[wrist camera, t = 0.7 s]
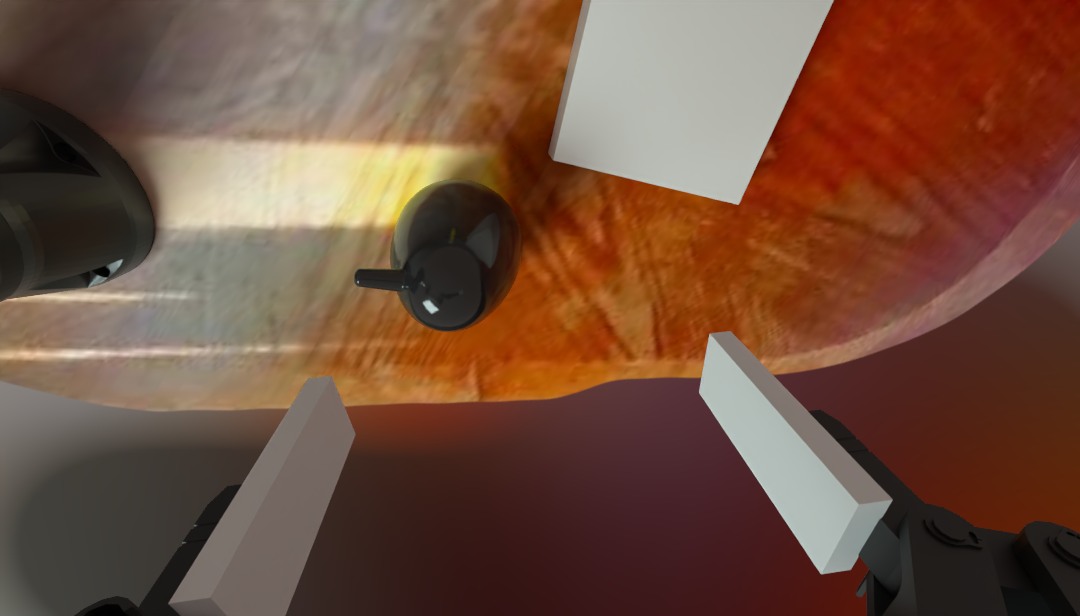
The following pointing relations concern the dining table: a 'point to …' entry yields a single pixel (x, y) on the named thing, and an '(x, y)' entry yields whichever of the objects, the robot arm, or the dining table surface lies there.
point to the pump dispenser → (451, 255)
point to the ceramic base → (681, 88)
